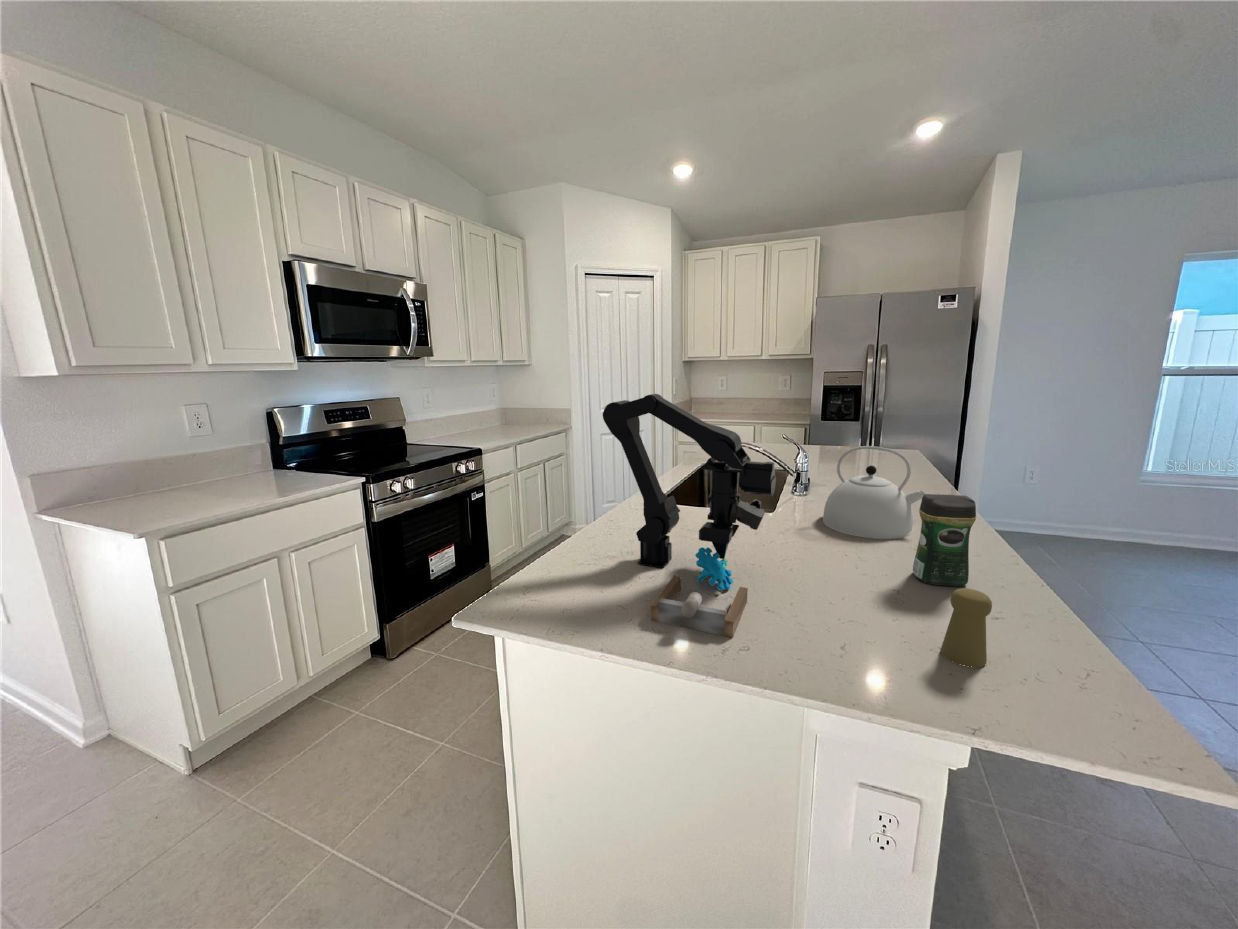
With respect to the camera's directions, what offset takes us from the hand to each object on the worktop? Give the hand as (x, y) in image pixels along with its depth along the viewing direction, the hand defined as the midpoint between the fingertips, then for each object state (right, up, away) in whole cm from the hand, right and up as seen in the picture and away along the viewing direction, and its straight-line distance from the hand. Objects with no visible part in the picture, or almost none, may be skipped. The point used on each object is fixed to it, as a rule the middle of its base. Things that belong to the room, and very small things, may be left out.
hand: (722, 558), depth 107 cm
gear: (-2, -5, -4) cm, 7 cm away
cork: (+32, -10, -30) cm, 45 cm away
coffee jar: (+45, -4, -4) cm, 46 cm away
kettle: (+48, +3, +29) cm, 57 cm away
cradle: (-7, -7, -15) cm, 18 cm away
